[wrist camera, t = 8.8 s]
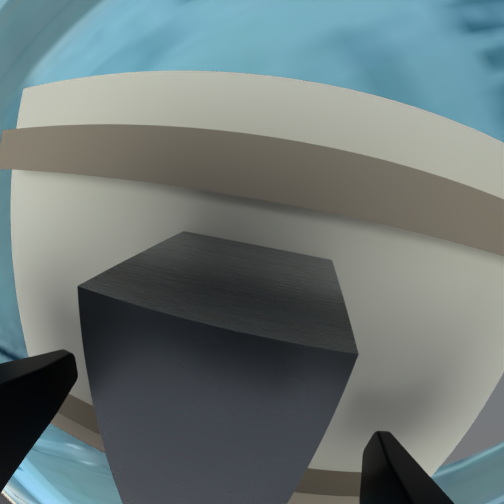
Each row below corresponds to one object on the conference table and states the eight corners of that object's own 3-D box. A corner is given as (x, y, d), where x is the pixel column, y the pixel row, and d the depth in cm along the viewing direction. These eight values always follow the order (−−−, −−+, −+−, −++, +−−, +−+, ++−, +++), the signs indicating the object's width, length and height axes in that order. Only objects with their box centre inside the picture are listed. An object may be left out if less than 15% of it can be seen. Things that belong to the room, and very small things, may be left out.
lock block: (332, 259, 9) (358, 354, 4) (277, 443, 11) (260, 545, 6) (183, 230, 9) (77, 285, 5) (173, 417, 11) (123, 505, 7)
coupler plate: (545, 174, 8) (587, 179, 5) (402, 488, 12) (408, 522, 10) (41, 92, 10) (-1, 84, 8) (56, 404, 15) (33, 428, 12)
